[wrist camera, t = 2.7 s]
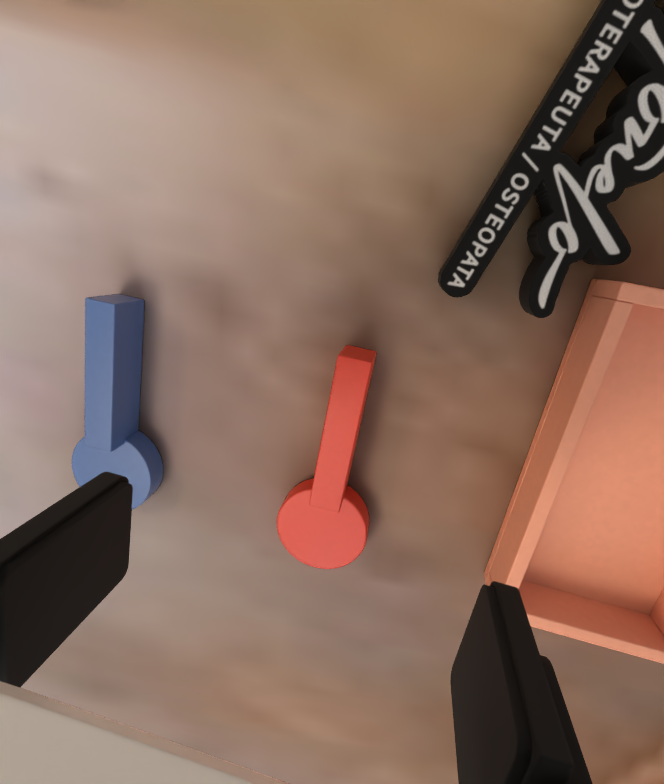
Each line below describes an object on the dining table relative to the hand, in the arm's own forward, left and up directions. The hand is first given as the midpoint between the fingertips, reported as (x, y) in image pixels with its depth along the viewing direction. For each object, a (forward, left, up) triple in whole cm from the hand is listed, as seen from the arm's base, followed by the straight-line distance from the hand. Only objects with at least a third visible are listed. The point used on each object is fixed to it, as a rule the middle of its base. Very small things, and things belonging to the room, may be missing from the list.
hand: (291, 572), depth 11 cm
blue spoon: (+1, -11, -10) cm, 15 cm away
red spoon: (+1, 0, -10) cm, 10 cm away
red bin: (-2, +12, -10) cm, 15 cm away
